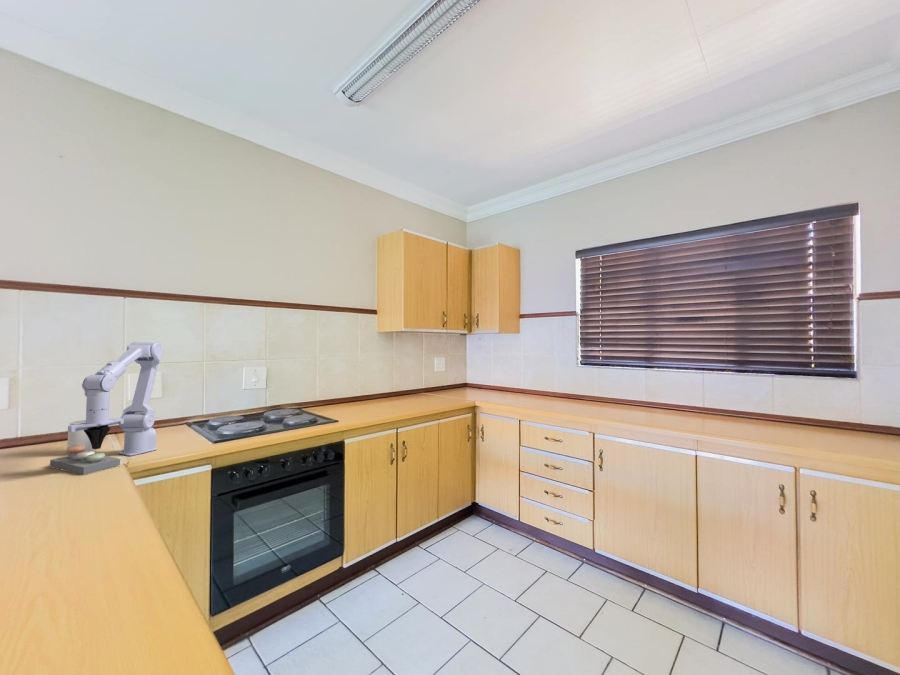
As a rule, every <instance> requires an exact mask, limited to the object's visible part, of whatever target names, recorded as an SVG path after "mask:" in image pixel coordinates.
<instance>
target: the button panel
mask: <svg viewBox="0 0 900 675" xmlns="http://www.w3.org/2000/svg"><path fill="white" fill-rule="evenodd" d="M118 465H120V466H121V458H118V457H113V456H108V455H105V458H104V461H102V462H97V463H93V464H91V463H88V461H87V460H86V461H78V459H77V458H75V459H69V458H68V455H67V456H62V457H58V458H52V459H50V460H49V467H50V468H52V467H54V468H53V469H56V468H58V469H57V470H60V469H63V470H62V471H64V470H66V471H65V472H69V471H70V473H73V472H74V474H77V475H82V476H85V475H89V473H90V474H94V473H97V471H98V472H102V471H105V469H106V470H109V468H110V469H113V468H112V467H114V468H116V467H115V466H118ZM118 467H119V466H118ZM101 470H102V471H101ZM93 472H94V473H93Z"/></svg>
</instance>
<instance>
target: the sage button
mask: <svg viewBox="0 0 900 675" xmlns="http://www.w3.org/2000/svg"><path fill="white" fill-rule="evenodd" d="M105 456H106V455H105V453H104V452H98V453H94V454H91V455H88V456H87V461H88V463H91V464H93V463H97V462H102V461H104V458H105Z"/></svg>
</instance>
